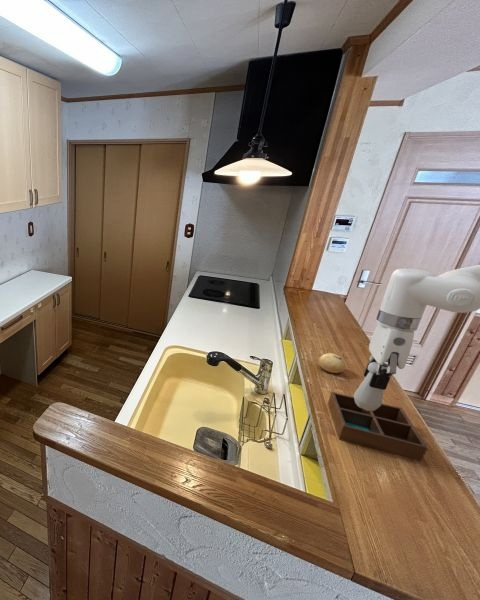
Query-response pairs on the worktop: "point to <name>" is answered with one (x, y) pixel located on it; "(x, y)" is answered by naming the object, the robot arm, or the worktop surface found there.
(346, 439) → the grid
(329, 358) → the tan oval lump
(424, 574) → the worktop surface
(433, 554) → the worktop surface
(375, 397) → the salt shaker
